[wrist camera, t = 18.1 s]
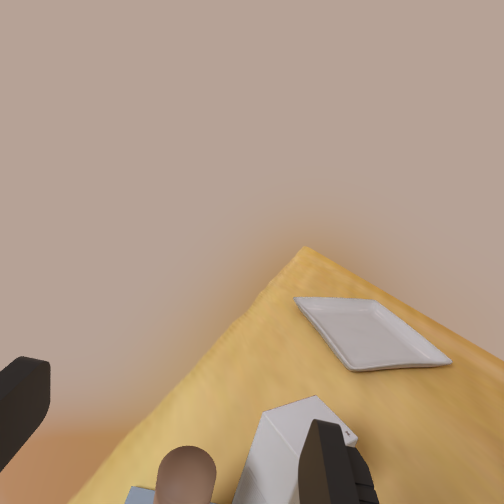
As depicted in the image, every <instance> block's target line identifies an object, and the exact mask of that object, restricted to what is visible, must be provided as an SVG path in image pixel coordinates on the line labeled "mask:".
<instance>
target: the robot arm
mask: <svg viewBox="0 0 504 504" xmlns="http://www.w3.org/2000/svg"><path fill="white" fill-rule="evenodd" d="M49 405H50V364H49V362H47V361H43V360H38V359H33V358H28V357H24V356H23V357H22V356H21V357H18V358H16V359H15V360H14V361H13V362H11V363H10V364H9V365H8V366H7V367H5V368H4V369H3V370H2V371H0V472H1V471H2V470H3V469H4V467H5V466H6V465H7V464H8V463H9V461H10V460H11V459H12V458H13V457H14V455H15V454H16V453H17V452H18V451H19V449H20V448H21V447H22V446H23V445H24V443H25V442H26V441H27V440H28V438H29V437H30V436H31V435H32V434H33V432H34V431H35V430H36V429H37V428H38V427H39V425H40V424H41V422H42V421H43V419H44V418H45V416H46V414H47V411H48V408H49ZM298 488H299V501H300V504H379V501H378V497H377V494H376V491H375V490H374V484H373V481H372V478H371V474H370V471H369V468H368V465H367V464H366V462H365V461H364V459H363V458H362V456H361V455H360V453H359V452H358V450H357V449H356V448H355V447H350V446H346V445H345V441H344V437H343V433H342V429H341V427H340V425H339V424H337V423H332V422H327V421H322V420H318V419H313V421H312V423H311V425H310V428H309V431H308V434H307V437H306V440H305V443H304V446H303V449H302V451H301V454H300V458H299V464H298Z"/></svg>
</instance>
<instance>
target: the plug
mask: <svg viewBox="0 0 504 504" xmlns="http://www.w3.org/2000/svg"><path fill="white" fill-rule="evenodd" d="M215 480H216V466H215V463H214V461H213V459H212V458H211V456H210V455H209V454H208V453H207V452H205V451H204V450H202V449H200V448H198V447H194V446H182V447H178V448H176V449H174V450H172V451H170V452H169V453H168V454H167V455H166V456H165V457H164V458H163V460H162V462H161V463H160V466H159V469H158V475H157V482H156V488H155V494H154V501H153V504H210V501H211V497H212V493H213V488H214V484H215Z"/></svg>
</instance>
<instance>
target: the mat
mask: <svg viewBox="0 0 504 504" xmlns="http://www.w3.org/2000/svg"><path fill="white" fill-rule="evenodd" d="M154 494H155V491H153V490H148V489H143V488H139V487H134V486H132V487H131V489H130V491H129V494H128V496H127V499H126V501H125V504H153V501H154ZM210 504H216V503H211V502H210Z"/></svg>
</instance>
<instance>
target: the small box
mask: <svg viewBox="0 0 504 504" xmlns="http://www.w3.org/2000/svg"><path fill="white" fill-rule="evenodd" d="M313 419H318V420H322V421H327V422H332V423H337V424H339V425H340V427H341V429H342V433H343V437H344V441H345V445H346V446H350V447H355V445H356V443H357V441H358V437H357V436H356V435H355V434H354V433H353V432H352V431H351V430H350V429H349V428H348V427H347V426H346V424H345V423H344V422H343V421H342V420H341V419H340V418H339V417H338V416H337V415H336V414H335V413H334V412H333V411H332V410H331V409H329V407H328V406H327V405H326V404H325V403H323V402H322V401H321V400H320V399H319V398H318V397H317V396H316V395H314V396H311V397H308V398H305V399H302V400H299V401H296V402H293V403H289V404H286V405H283V406H280V407H277V408H274V409H271V410H267V411H264V412H263V413H262V416H261V419H260V422H259V425H258V428H257V431H256V434H255V437H254V440H253V443H252V445H251V448H250V451H249V454H248V457H247V460H246V463H245V466H244V469H243V472H242V475H241V477H240V481H239V483H238V486H237V489H236V492H235V495H234V498H233V501H232V504H300V501H299V488H298V464H299V458H300V454H301V451H302V449H303V446H304V443H305V440H306V437H307V434H308V431H309V428H310V425H311V423H312V421H313Z"/></svg>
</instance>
